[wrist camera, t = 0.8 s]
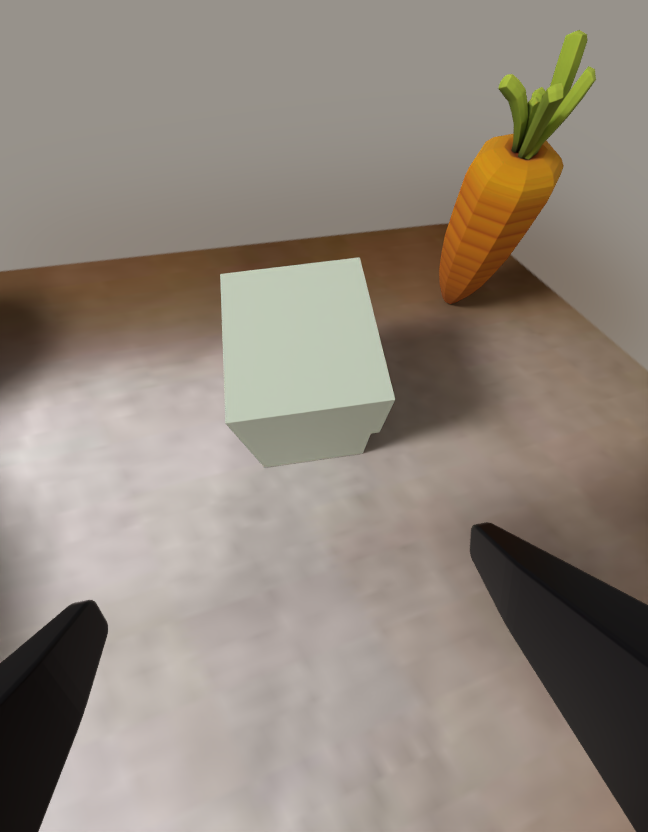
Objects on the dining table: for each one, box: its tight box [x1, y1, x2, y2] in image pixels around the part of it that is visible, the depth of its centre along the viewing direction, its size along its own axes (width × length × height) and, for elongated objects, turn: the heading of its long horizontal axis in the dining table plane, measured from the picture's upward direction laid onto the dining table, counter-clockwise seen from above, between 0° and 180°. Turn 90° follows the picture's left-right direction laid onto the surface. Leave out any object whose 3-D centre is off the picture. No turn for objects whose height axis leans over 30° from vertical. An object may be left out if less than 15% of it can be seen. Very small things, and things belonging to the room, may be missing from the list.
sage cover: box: [220, 258, 395, 468], centre depth 19 cm, size 8×7×9 cm
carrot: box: [439, 30, 596, 304], centre depth 20 cm, size 5×5×15 cm
